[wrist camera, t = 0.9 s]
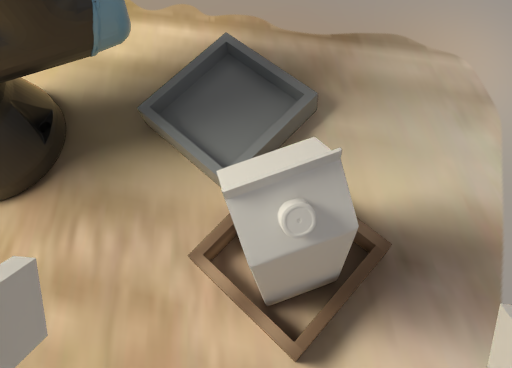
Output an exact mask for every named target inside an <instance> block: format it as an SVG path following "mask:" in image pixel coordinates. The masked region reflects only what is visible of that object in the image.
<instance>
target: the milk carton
mask: <svg viewBox="0 0 512 368" xmlns="http://www.w3.org/2000/svg"><path fill="white" fill-rule="evenodd" d="M341 153H342V149H341V148H337V149H334V150H331V149H330V148H328V147H327V146H326V145H325V144H323V143H322V142H321V141H320V140H318V139H317V138H316V137H312V138H309V139H306V140H303V141H300V142H297V143H294V144H291V145H289V146H286V147H283V148H280V149H277V150H274V151H271V152H269V153H266V154H263V155H260V156H257V157H254V158H251V159H248V160H246V161H243V162H240V163H237V164H234V165H231V166H228V167H226V168H223V169H220V170H218V171H216V172H217V175H218V178H219V181H220V185H221V188H222V193H223V196H224V198H225V201H226V203H227V206H228V209H229V212H230V215H231V217H232V220H233V223H234V226H235V229H236V231H237V234H238V237H239V240H240V242H241V245H242V248H243V251H244V254H245V256H246V259H247V262H248V265H249V267H250V269H251V272H252V274H253V277H254V279H255V281H256V284H257V286H258V288H259V291H260V293H261V295H262V298H263V300H264V302H265V305H266V306H270V305H273V304H276V303H279V302H281V301H284V300H287V299H289V298H292V297H295V296H297V295H300V294H303V293H305V292H308V291H311V290H313V289H316V288H319V287H322V286H324V285H327V284H330V283H332V282H335V281H336V280H338V277H339V275H340V272H341V270H342V267H343V265H344V263H345V260H346V258H347V255H348V253H349V250H350V248H351V245H352V243H353V240H354V238H355V235H356V233H357V230H358V227H359V225H358V221H357V218H356V214H355V210H354V207H353V203H352V199H351V196H350V192H349V188H348V184H347V181H346V177H345V173H344V170H343V166H342V162H341V159H340V158H341Z"/></svg>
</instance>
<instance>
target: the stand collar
mask: <svg viewBox="0 0 512 368" xmlns="http://www.w3.org/2000/svg"><path fill="white" fill-rule="evenodd" d="M356 218H357V217H356ZM357 221H358V225H359V227H358V230H357V233H356V235H355V238H354V240H353V241H354V242H355V243H357V244H358V245H359V246H361V247H362V248H363V249H364V250H366V251H367V252H368V253H369V254H368V255H367V256H366V258H365V259H364V260H363V261H362V262H361V264H360V265H359V266H358V267H357V268H356V269H355V271H354V272H353V273H352V274H351V275H350V277H349V278H348V279H347V280H346V281H345V282H344V284H343V285H342V286H341V287H340V288H339V290H338V291H337V292H336V293H335V294H334V296H333V297H332V298H331V299H330V300H329V301H328V303H327V304H326V305H325V306H324V307H323V309H322V310H321V311H320V312H319V313H318V314H317V316H316V317H315V318H314V319H313V320H312V322H311V323H310V324H309V325H308V326H307V328H306V329H305V330H304V331H303V332H302V333H301V335H300V336H299V337H298V338H297V339H296V341H295V342H293V341H292V340H291V339H290V338H289V337H288V336H287V335H286V334H285V333H284V332H283V331H282V330H281V329H280V328H279V327H278V326H277V325H276V324H275V323H274V322H273V321H272V320H270V319H269V318H268V317H267V316H266V315H265V314H264V313H263V312H262V311H261V310H260V309H259V308H258V307H257V306H256V305H255V304H254V303H253V302H252V301H251V300H250V299H249V298H248V297H246V296H245V295H244V294H243V293H242V292H241V291H240V290H239V289H238V288H237V287H236V286H235V285H234V284H233V283H232V282H231V281H230V280H229V279H228V278H227V277H226V276H225V275H223V274H222V273H221V272H220V271H219V270H218V269H217V268H216V267H215V266H214V265H213V264H212V263H211V261H212V260H213V259H214V258H215V256H216V255H217V254H218V253H219V252H220V251H221V250H222V249H223V248H224V247H225V246H226V245H227V244H228V243H229V242H230V241H231V240H232V239H233V238H234V237H235V236H236V235H237V231H236V229H235V226H234V223H233V220H232V217H231V215H230V213H229V214H228V215H227V216H226V217H225V218H224V219H223V221H222V222H221V223H220V224H219V225H218V226H217V227H216V228H215V229H214V230H213V231H212V232H211V233H210V234H209V235H208V236H207V237H206V238H205V239H204V240H203V241H202V242H201V243H200V244H199V245H198V246H197V247H196V248H195V249H194V250H193V251H192V252H191V253H190V254H189V255H188V257H189V258H190V259H191V260H192V261H193V262H194V263H195V264H196V265H197V266H198V267H199V268H200V269H201V270H202V271H203V272H204V273H205V274H206V275H207V276H208V277H209V278H210V279H211V280H212V281H213V282H214V283H215V284H216V285H217V286H218V287H219V288H220V289H221V290H222V291H223V292H224V293H225V294H226V295H227V296H228V297H229V298H230V299H231V300H232V301H233V302H234V303H235V304H236V305H238V306H239V307H240V308H241V309H242V310H243V311H244V312H245V313H246V314H247V315H248V316H249V317H250V318H251V319H252V320H253V321H254V322H255V323H256V324H257V325H258V326H259V327H260V328H261V329H262V330H263V331H264V332H265V333H266V334H267V335H268V336H269V337H270V338H271V339H272V340H273V341H274V342H275V343H276V344H277V345H278V346H279V347H280V348H281V349H282V350H283V351H285V352H286V353H287V354H288V355H289V356H290V357H291V358H292V359H293V360H294V361H295V362H296V361H297V360H298V359H299V357H300V356H301V355H302V354H303V353H304V351H305V350H306V349H307V348H308V347H309V345H310V344H311V343H312V342H313V341H314V339H315V338H316V337H317V336H318V335H319V333H320V332H321V331H322V330H323V329H324V327H325V326H326V325H327V324H328V322H329V321H330V320H331V319H332V318H333V316H334V315H335V314H336V313H337V312H338V310H339V309H340V308H341V307H342V306H343V304H344V303H345V302H346V301H347V300H348V298H349V297H350V296H351V295H352V294H353V292H354V291H355V290H356V289H357V288H358V286H359V285H360V284H361V283H362V282H363V280H364V279H365V278H366V277H367V275H368V274H369V273H370V272H371V271H372V269H373V268H374V267H375V266H376V265H377V263H378V262H379V261H380V260H381V259H382V257H383V256H384V255H385V254H386V252H387V251H388V250H389V248H390V247H391V245H392V244H391V243H390V242H388V241H387V240H386V239H384V238H383V237H382V236H380V235H379V234H378V233H377V232H375V231H374V230H373V229H371V228H370V227H369V226H367V225H366V224H365V223H363V222H362V221H361V220H360V219H358V218H357Z"/></svg>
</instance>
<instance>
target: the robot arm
mask: <svg viewBox="0 0 512 368" xmlns="http://www.w3.org/2000/svg"><path fill="white" fill-rule="evenodd" d="M130 30H131V23H130V19H129V15H128V12H127V8H126V5H125V1H124V0H0V200H4V199H7V198H10V197H12V196H15V195H17V194H19V193H21V192H23V191H24V190H26V189H28V188H29V187H31V186H32V185H33V184H35V183H36V182H37V181H38V180H39V179H41V178H42V177H43V176H44V175H45V174H46V173H47V172H48V170H49V169H50V168H51V167H52V165H53V164H54V162H55V161H56V159H57V158H58V156H59V154H60V152H61V149H62V147H63V144H64V140H65V133H66V125H65V119H64V116H63V113H62V111H61V110H60V108H59V107H58V105H57V104H56V103H55V102H54V101H53V100H52V98H51V97H50V96H49V95H48V94H47V93H46V92H45V91H43V90H42V89H41V88H39V87H38V86H36V85H34V84H32V83H30V82H28V81H26V80H25V79H23V78H21V77H23V76H26V75H30V74H33V73H36V72H40V71H43V70H46V69H50V68H53V67H56V66H60V65H63V64H66V63H70V62H73V61H76V60H80V59H83V58H86V57H92V56H95V55H97V53H98V52H101V51H103V50H106V49H108V48H111V47H113V46H116V45H118V44H121V43H122V42H123V41H125V39H126V38H127V37H128V36H129V33H130ZM47 335H48V334H47V328H46V321H45V315H44V308H43V302H42V295H41V289H40V282H39V276H38V269H37V263H36V258H30V257H20V256H12V257H11V258H9V259H7V260H6V261H4V262H3V263H1V264H0V368H15V367H16V366H17V365H18V364H19V363H20V362H21V361H22V360H23V359H24V358H25V357H26V356H27V355H28V354H29V353H30V352H31V351H32V350H33V349H34V348H35V347H36V346H37V345H38V344H39V343H40V342H41V341H42V340H43V339H44V338H45V337H46V336H47ZM487 368H512V304H501V303H500V308H499V312H498V317H497V322H496V327H495V332H494V336H493V341H492V346H491V351H490V355H489V360H488V365H487Z"/></svg>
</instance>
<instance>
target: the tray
mask: <svg viewBox="0 0 512 368" xmlns="http://www.w3.org/2000/svg"><path fill="white" fill-rule="evenodd" d="M317 99H318V93H317V92H315V91H314V90H312V89H311V88H309V87H308V86H306V85H305V84H303V83H302V82H300V81H299V80H297V79H295V78H294V77H292V76H291V75H289V74H288V73H286V72H285V71H283V70H282V69H280V68H279V67H277V66H276V65H274V64H273V63H271V62H270V61H268V60H267V59H265V58H264V57H262V56H261V55H259V54H258V53H256V52H255V51H253V50H252V49H250V48H249V47H247V46H246V45H244V44H243V43H241V42H240V41H238V40H237V39H235V38H234V37H232V36H231V35H229V34H228V33H225V34H223V35H222V36H221V37H220V38H219V39H218V40H216V41H215V42H214V43H213V44H212V45H210V46H209V47H208V48H207V49H206V50H205V51H203V52H202V53H201V54H200V55H199V56H197V57H196V58H195V59H194V60H193V61H192V62H190V63H189V64H188V65H187V66H186V67H184V68H183V69H182V70H181V71H180V72H179V73H177V74H176V75H175V76H174V77H173V78H171V79H170V80H169V81H168V82H167V83H166V84H164V85H163V86H162V87H161V88H160V89H158V90H157V91H156V92H155V93H154V94H153V95H151V96H150V97H149V98H148V99H147V100H145V101H144V102H143V103H142V104H141V105H140V106H138V107H137V109H138V111H139V112H140V114H141V116H142V118H143V119H144V121H145V123H146V124H147V125H149V126H150V127H151V128H152V129H153V130H154V131H156V132H157V133H158V134H159V135H160V136H162V137H163V138H164V139H165V140H166V141H167V142H169V143H170V144H171V145H172V146H173V147H174V148H176V149H177V150H178V151H179V152H180V153H181V154H183V155H184V156H185V157H186V158H187V159H188V160H190V161H191V162H192V163H193V164H194V165H195V166H197V167H198V168H199V169H200V170H201V171H202V172H204V173H205V174H206V175H207V176H208V177H209V178H211V179H212V180H213V181H214V182H215V183H216V184H218V185H219V186H220V187H221V185H220V181H219V178H218V175H217V172H216V171H218V170H220V169H223V168H226V167H228V166H231V165H234V164H237V163H240V162H243V161H246V160H248V159H251V158H254V157H257V156H260V155H263V154H266V153H269V152H271V151H274V150H277V149H278V148H279V147H280V146H281V145H282V144H283V143H284V142H285V141H286V140H287V139H288V138H289V137H290V136H291V135H292V134H293V133H294V132H295V131H296V130H297V129H298V128H299V127H300V126H301V125H302V124H303V123H304V122H305V121H306V120H307V119H308V118H309V117H310V116H311V115H312V114H313V113H314V112H315V111H316V110H317Z"/></svg>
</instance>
